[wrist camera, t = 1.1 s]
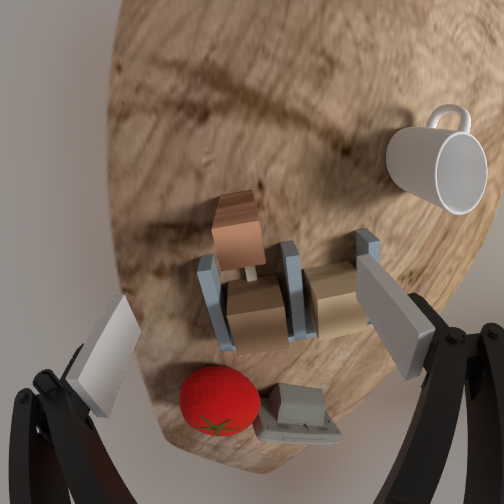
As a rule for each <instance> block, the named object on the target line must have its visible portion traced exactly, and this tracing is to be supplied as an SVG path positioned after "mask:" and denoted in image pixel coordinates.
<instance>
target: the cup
mask: <svg viewBox="0 0 504 504" xmlns="http://www.w3.org/2000/svg"><path fill="white" fill-rule="evenodd" d="M447 113H454V114H458V115H459V116H461V121H460V124H459V127H458V130H457V131H454V130H446V129H436V126H437V123H438V120H439V119H440V117H441V116H443V115H444V114H447ZM470 126H471V118H470V115H469V113H468V112H467V110H466V109H464V108H463V107H461V106H458V105H454V104H446V105H442V106H439V107H438V108H436V109H435V110H434V111H433V112H432V114H431V115H430V117H429V119H428V122H427V124H426V127H406V128H403V129H401V130H399V131H398V132H396V133H395V134H394V135H393V137H392V138H391V139H390V141H389V143H388V146H387V150H386V166H387V170H388V172H389V175H390V177H391V178H392V180H393V181H394V182H395V184H396V185H398V186H399V187H400V188H401V189H403V190H405V191H407V192H409V193H411V194H414V195H416V196H418V197H420V198H422V199H424V200H426V201H428V202H430V203H432V204H434V205H436V206H438V207H440V208H442V209H444V210H446V211H448V212H450V213H452V214H455V215H462V214H466V213H468V212H470V211H471V210H472V209H473V208H474V207H475V206H476V205H477V204H478V203H479V201H480V199H481V197H482V195H483V193H484V190H485V187H486V182H487V162H486V157H485V154H484V151H483V149H482V147H481V145H480V143H479V142H478V141H477V139H476V138H475V137H473V136H472V135H471V134H469V131H470Z"/></svg>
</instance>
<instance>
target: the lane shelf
mask: <svg viewBox="0 0 504 504" xmlns="http://www.w3.org/2000/svg"><path fill="white" fill-rule="evenodd" d="M280 244H281V252H282V259H283V267H284V275H285V283H286V292H287V300H288V309H289V318H286V324H287V332H288V341H289V342H291V341H297V340H302V339H307V338H312V337H317V335H316V332H315V329H314V326H313V323H312V320H311V318H310V315H309V314H305V313H304V299H303V287H302V275H301V265H300V255H299V253H298V251H297V248H296V246H295V244H294V242H293V241H288V242H282V243H280ZM365 254H370V255H371V256H372V257H373V258H374V259H375V260H376V261H377V262H378V263H380V240H379V239H378V238H377V237H376V236H375V235H373V234H372V233H371V232H370V231H369V230H368V229H360V230H356V271H357V256H360V255H365ZM197 274H198V278H199V281H200V285H201V288H202V292H203V295H204V298H205V302H206V305H207V308H208V311H209V315H210V318H211V321H212V324H213V327H214V330H215V334H216V337H217V340H218V343H219V346H220V349H221V352H225V351H233V350H236V348H235V344H234V341H233V337H232V333H231V330H230V326H229V323H228V319H227V306H226V302H225V299H224V295H223V291H222V287H221V283H220V279H219V275H218V271H217V267H216V263H215V259H214V255H213V254H211V255H205V256H201V259H200V262H199V266H198V270H197ZM369 324H372V323H371V321H370V320H369V318H367V325H369Z"/></svg>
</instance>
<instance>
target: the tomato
mask: <svg viewBox="0 0 504 504" xmlns="http://www.w3.org/2000/svg"><path fill="white" fill-rule="evenodd" d="M260 405H261V402H260V397H259V394H258V391H257V389H256V388H255V386H254V385H253V384H252V382H251V381H250V380H249V379H248V378H247V377H245V376H244V375H243V374H241V373H240V372H238V371H237V370H234V369H232V368H229V367H224V366H210V367H204V368H201V369H199V370H197V371H196V372H194V373H192V374H191V375H190V376H189V377H188V378H187V379H186V380H185V381H184V383H183V385H182V387H181V392H180V408H181V412H182V414H183V417H184V418H185V420H186V421H187V423H188V424H189V425H190V426H191V427H193V428H194V429H196V430H198V431H200V432H202V433H205V434H209V435H214V436H230V435H234V434H237V433H239V432H241V431H243V430H245V429H246V428H248V427H249V426H250V425H251V424H252V422H253V421H254V420H255V418H256V417H257V415H258V412H259V409H260Z"/></svg>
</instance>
